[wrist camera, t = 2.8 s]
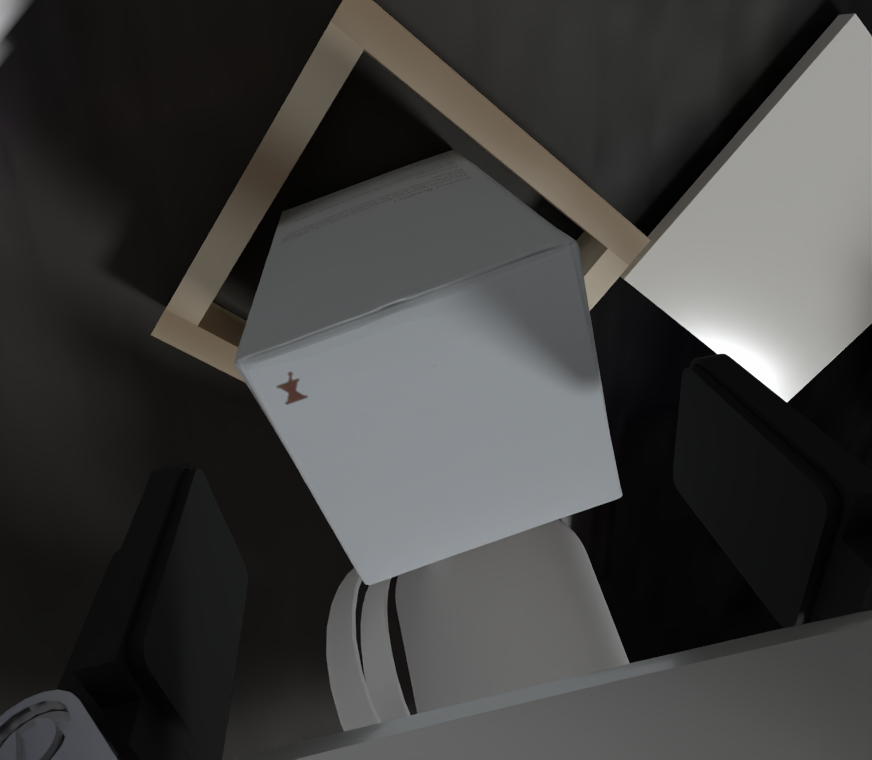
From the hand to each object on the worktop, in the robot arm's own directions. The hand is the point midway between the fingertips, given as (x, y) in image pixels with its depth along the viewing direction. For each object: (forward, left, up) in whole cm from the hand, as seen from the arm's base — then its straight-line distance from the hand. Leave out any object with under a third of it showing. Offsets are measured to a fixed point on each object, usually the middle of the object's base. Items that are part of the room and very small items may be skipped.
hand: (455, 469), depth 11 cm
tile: (+11, -15, -14) cm, 23 cm away
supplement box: (0, -1, -15) cm, 15 cm away
